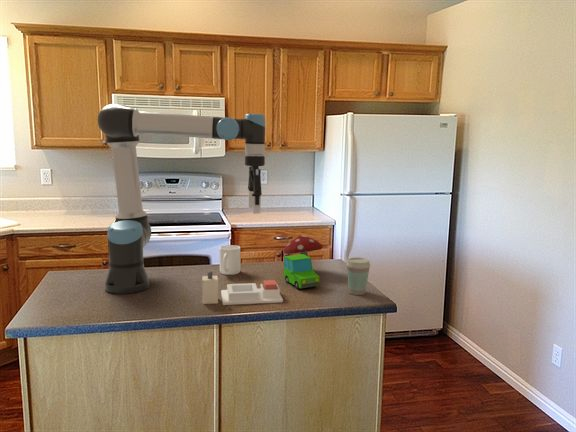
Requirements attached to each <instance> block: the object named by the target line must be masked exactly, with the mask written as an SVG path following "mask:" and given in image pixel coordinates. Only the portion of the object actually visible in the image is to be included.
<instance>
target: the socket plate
mask: <svg viewBox="0 0 576 432" xmlns="http://www.w3.org/2000/svg"><path fill="white" fill-rule="evenodd" d="M259 287H260V288H258V286H257V284H256V283H255V282H254V283H252V282H251V283H227V284H226V289H222V290H220V294H221V301H222V305H223V306H225V305H226V306H230V305H252V304H253V305H254V304H272V303H277V304H278V303H283V302H284V299H283V297H282V295H281V290H280V289H281V288H280V287H279V285H278V284H277V289H272V290H265V289H264V286H263V283H260V285H259Z"/></svg>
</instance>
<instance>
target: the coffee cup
mask: <svg viewBox="0 0 576 432" xmlns="http://www.w3.org/2000/svg"><path fill="white" fill-rule="evenodd" d="M345 265H346V269H347V271H346V272H347V273H346V274H347V283H348V293H349V294H350V295H353V296H354V295H355V296H363V295H365V294H366V291H367V285H368V279H369V272H370V268H371V263H370V260H369V259H367V258H365V257H349V258H348V259H347V261H346V264H345Z"/></svg>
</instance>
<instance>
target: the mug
mask: <svg viewBox="0 0 576 432" xmlns="http://www.w3.org/2000/svg"><path fill="white" fill-rule="evenodd" d="M240 272H241V246H240V245H235V244H234V245H233V244H226V245H221V246H219V273H220V274H221V275H227V276H233V275H234V276H235V275H239V274H240Z"/></svg>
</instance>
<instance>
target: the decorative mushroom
mask: <svg viewBox="0 0 576 432" xmlns="http://www.w3.org/2000/svg"><path fill="white" fill-rule="evenodd" d="M323 247H324V245H322V243H320V242H319V241H318V240H317V239H314V238H312V237H309V236H307V235H301V234H300V235H298V236H297V237H295V238H293V239H292V240H291V241H289V242H288V243H287V244H286V245H285V247H284V248H283V253H284V254H288V255H289V254H291V255H294V254H299V255H300V254H304V255H306V256H308V257H310V256H309V254H308V253H309V252H314V251H321V250H322V249H323Z"/></svg>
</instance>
